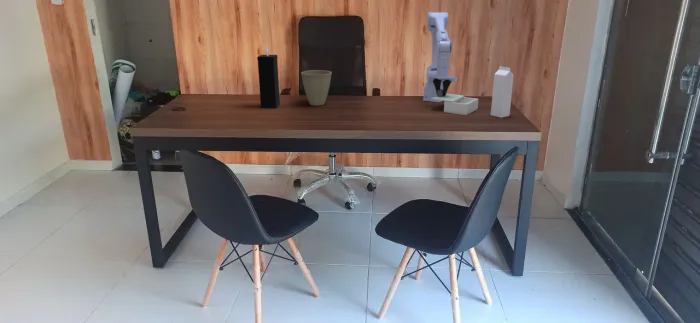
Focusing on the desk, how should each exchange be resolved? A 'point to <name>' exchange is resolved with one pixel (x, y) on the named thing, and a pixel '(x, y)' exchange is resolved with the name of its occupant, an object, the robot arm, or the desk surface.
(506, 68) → the milk
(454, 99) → the lid
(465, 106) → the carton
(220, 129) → the desk surface
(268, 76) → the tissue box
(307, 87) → the plant pot
